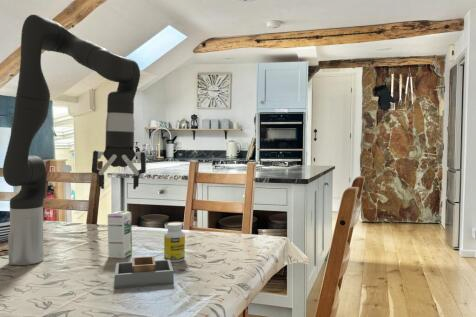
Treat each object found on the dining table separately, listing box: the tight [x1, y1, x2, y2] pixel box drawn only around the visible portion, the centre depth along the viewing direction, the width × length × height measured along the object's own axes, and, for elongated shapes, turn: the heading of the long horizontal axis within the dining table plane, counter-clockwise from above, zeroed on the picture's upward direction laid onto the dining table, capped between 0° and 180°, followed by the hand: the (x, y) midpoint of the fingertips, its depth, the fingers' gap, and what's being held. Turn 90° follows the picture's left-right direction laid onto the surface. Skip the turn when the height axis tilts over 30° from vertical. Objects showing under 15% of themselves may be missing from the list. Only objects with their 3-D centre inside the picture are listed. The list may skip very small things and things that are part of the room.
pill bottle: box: [163, 222, 186, 263], centre depth 132 cm, size 6×6×12 cm
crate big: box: [114, 259, 174, 289], centre depth 114 cm, size 15×11×4 cm
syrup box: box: [107, 210, 133, 259], centre depth 137 cm, size 6×6×14 cm
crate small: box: [131, 255, 156, 273], centre depth 114 cm, size 6×8×4 cm
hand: (118, 188), depth 115 cm, fingers open, 8 cm apart
